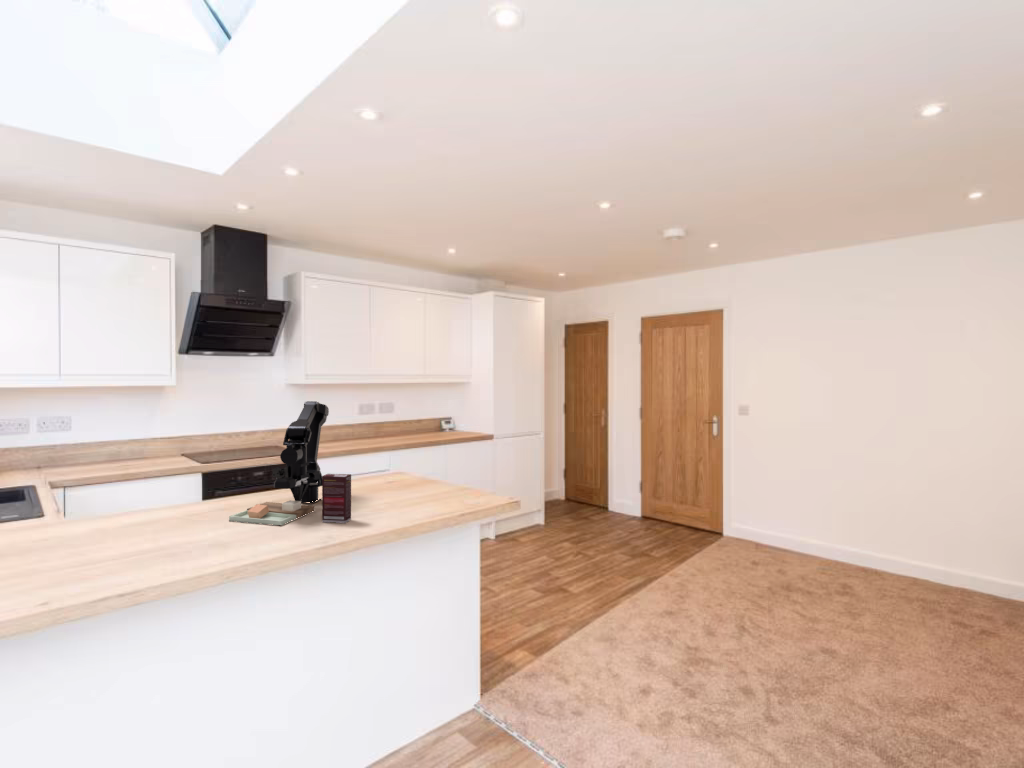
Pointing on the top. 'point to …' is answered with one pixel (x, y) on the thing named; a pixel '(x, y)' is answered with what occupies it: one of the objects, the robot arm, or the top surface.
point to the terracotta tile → (258, 511)
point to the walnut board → (278, 509)
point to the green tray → (263, 518)
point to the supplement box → (336, 498)
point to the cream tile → (291, 505)
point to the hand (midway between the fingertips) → (297, 503)
